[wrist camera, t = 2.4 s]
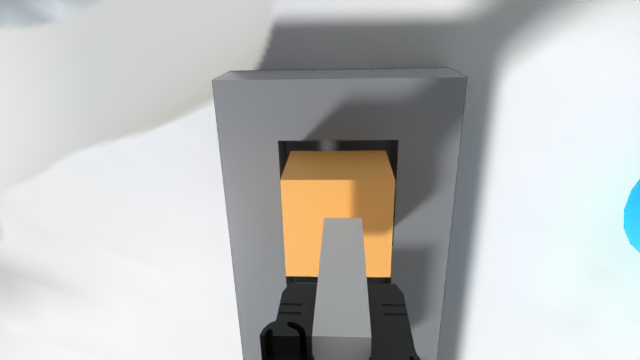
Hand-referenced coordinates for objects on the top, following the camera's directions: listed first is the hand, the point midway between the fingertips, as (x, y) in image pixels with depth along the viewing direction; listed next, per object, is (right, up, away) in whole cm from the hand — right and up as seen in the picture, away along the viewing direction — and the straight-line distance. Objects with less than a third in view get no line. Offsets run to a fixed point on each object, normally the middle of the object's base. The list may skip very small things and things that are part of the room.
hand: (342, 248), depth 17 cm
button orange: (0, +2, +5) cm, 6 cm away
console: (0, -4, +11) cm, 12 cm away
